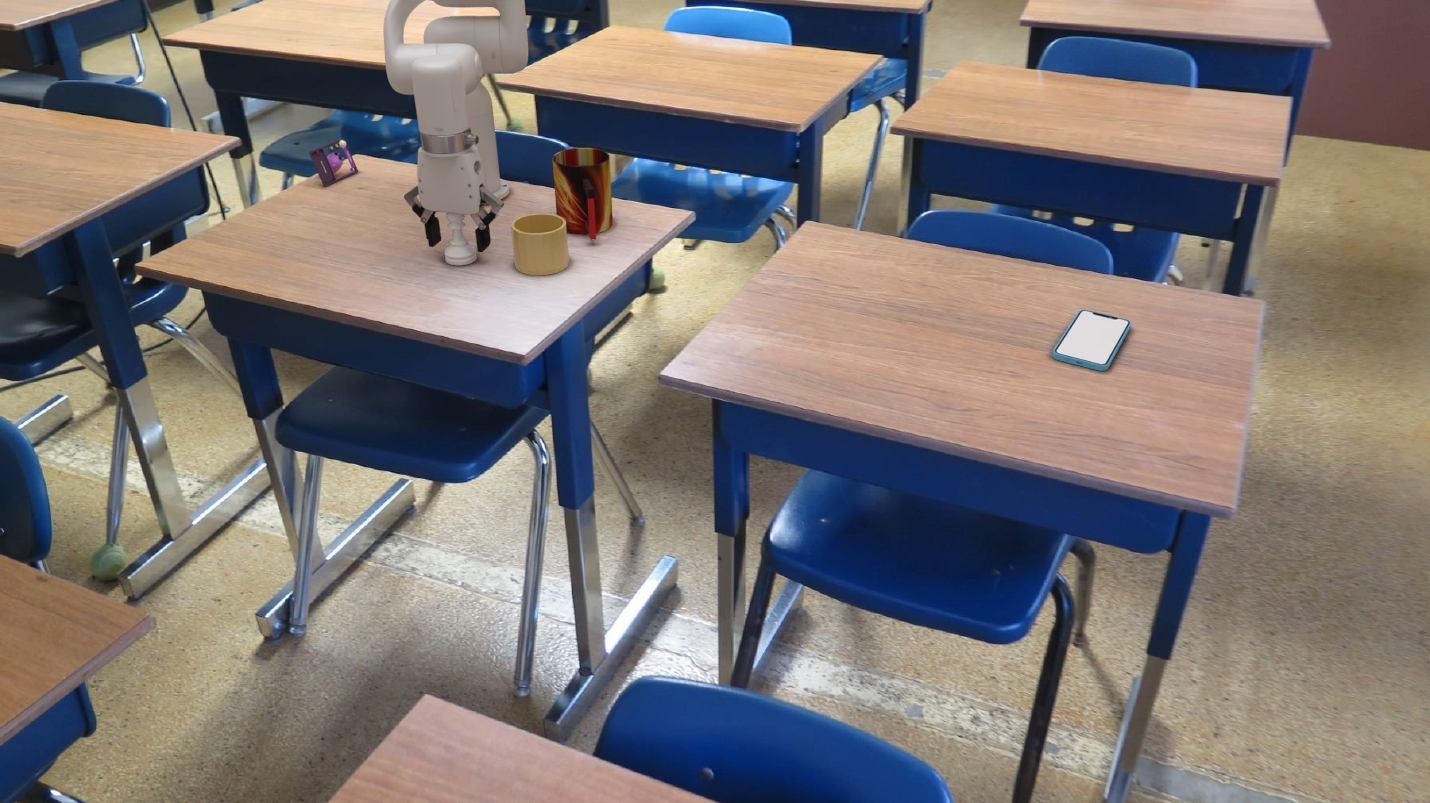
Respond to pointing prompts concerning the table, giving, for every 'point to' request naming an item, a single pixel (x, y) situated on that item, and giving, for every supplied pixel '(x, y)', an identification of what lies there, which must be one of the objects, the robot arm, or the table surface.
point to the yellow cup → (540, 244)
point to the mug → (583, 190)
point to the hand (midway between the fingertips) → (459, 246)
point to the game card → (331, 162)
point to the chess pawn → (458, 243)
